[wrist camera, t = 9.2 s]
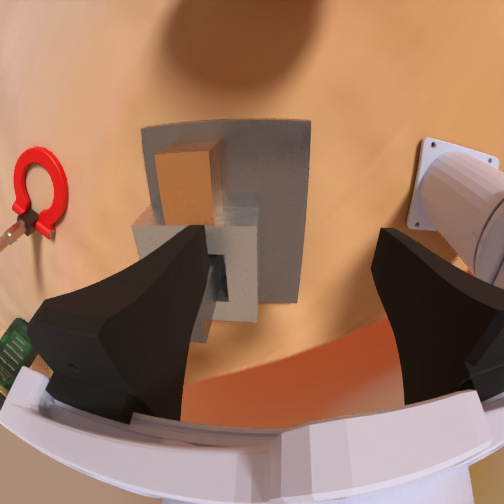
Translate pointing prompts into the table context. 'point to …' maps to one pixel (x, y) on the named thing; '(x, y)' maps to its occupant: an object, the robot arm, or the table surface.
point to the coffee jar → (14, 355)
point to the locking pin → (208, 299)
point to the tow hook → (27, 216)
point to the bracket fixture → (232, 202)
